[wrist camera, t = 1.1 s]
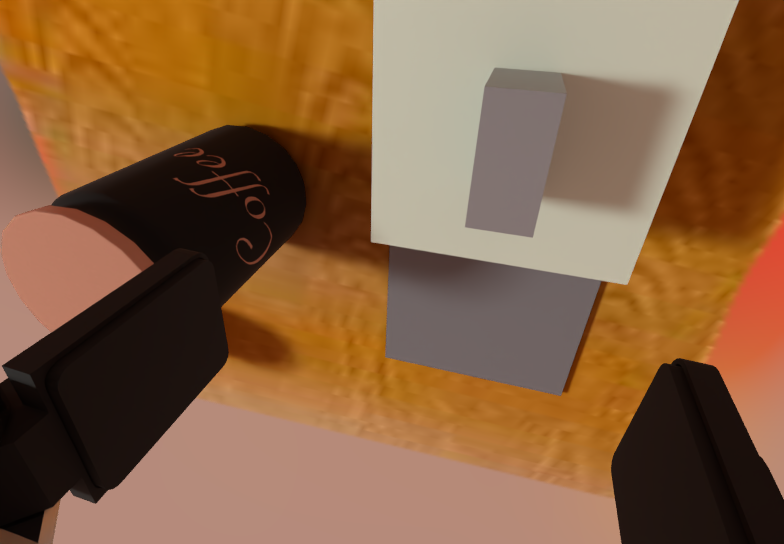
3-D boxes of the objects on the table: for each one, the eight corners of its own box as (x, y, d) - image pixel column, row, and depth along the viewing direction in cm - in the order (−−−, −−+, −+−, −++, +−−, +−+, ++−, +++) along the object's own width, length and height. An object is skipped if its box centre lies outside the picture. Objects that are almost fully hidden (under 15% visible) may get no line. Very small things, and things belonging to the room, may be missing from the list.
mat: (393, 198, 36) (391, 201, 36) (616, 230, 33) (617, 234, 32) (387, 353, 45) (385, 357, 45) (560, 391, 42) (560, 395, 41)
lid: (386, -51, 21) (332, -65, 16) (736, -41, 18) (827, -54, 13) (380, 227, 30) (342, 285, 24) (621, 266, 27) (644, 342, 21)
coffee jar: (334, 217, 39) (210, 356, 24) (246, 251, 43) (97, 385, 29) (267, 98, 35) (69, 179, 20) (178, 150, 39) (-35, 246, 25)
